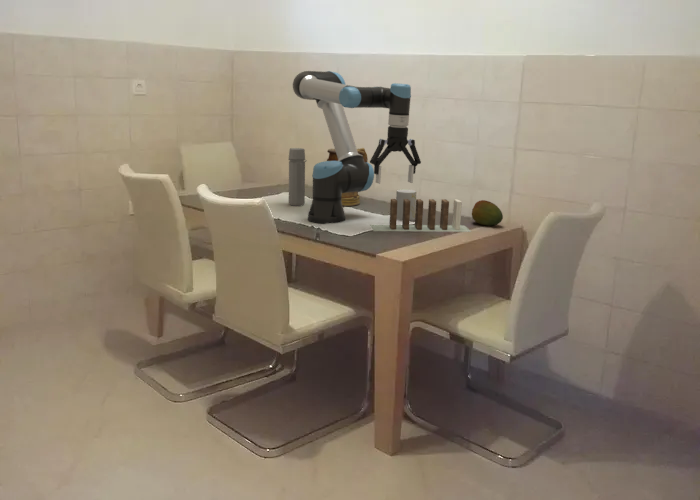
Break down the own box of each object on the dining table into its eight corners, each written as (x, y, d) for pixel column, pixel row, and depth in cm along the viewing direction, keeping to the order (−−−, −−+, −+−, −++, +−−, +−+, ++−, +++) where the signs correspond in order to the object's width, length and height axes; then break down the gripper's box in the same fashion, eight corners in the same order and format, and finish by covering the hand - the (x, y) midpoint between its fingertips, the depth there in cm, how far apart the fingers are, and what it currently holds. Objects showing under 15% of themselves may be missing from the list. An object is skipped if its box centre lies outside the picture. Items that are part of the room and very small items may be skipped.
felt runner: (373, 232, 257) (373, 230, 257) (369, 225, 267) (369, 224, 267) (471, 232, 261) (471, 231, 261) (464, 226, 271) (464, 225, 271)
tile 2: (404, 229, 260) (405, 201, 258) (402, 226, 265) (403, 198, 262) (409, 229, 261) (410, 201, 258) (406, 226, 265) (408, 199, 263)
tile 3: (417, 229, 261) (418, 201, 258) (414, 226, 266) (416, 199, 263) (421, 229, 261) (423, 201, 258) (419, 226, 266) (420, 199, 263)
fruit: (474, 221, 282) (476, 197, 280) (504, 224, 278) (506, 200, 275) (467, 226, 272) (469, 201, 269) (499, 229, 267) (501, 204, 265)
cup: (413, 222, 276) (415, 193, 273) (393, 221, 277) (395, 191, 274) (415, 218, 284) (417, 190, 281) (396, 217, 285) (398, 188, 282)
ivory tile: (455, 229, 262) (457, 201, 260) (452, 227, 267) (454, 199, 265) (459, 229, 263) (461, 201, 260) (456, 227, 267) (458, 199, 265)
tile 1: (391, 229, 260) (392, 201, 257) (389, 226, 265) (390, 198, 262) (396, 229, 260) (397, 201, 257) (394, 226, 265) (395, 198, 262)
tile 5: (442, 229, 262) (444, 201, 259) (439, 227, 267) (441, 199, 264) (447, 229, 262) (449, 201, 259) (444, 227, 267) (446, 199, 264)
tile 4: (430, 229, 261) (431, 201, 259) (427, 226, 266) (428, 199, 264) (434, 229, 262) (436, 201, 259) (431, 226, 266) (433, 199, 264)
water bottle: (284, 204, 306) (285, 148, 300) (300, 202, 310) (300, 147, 304) (294, 207, 299) (295, 150, 292) (310, 206, 303) (311, 149, 297)
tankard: (312, 201, 314) (313, 147, 308) (353, 197, 327) (355, 145, 321) (334, 208, 300) (335, 151, 294) (376, 204, 313) (378, 149, 307)
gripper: (371, 127, 245) (367, 185, 251) (432, 127, 254) (427, 183, 260) (363, 124, 252) (360, 181, 258) (423, 125, 261) (418, 180, 267)
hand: (394, 182), depth 259 cm, fingers open, 13 cm apart
